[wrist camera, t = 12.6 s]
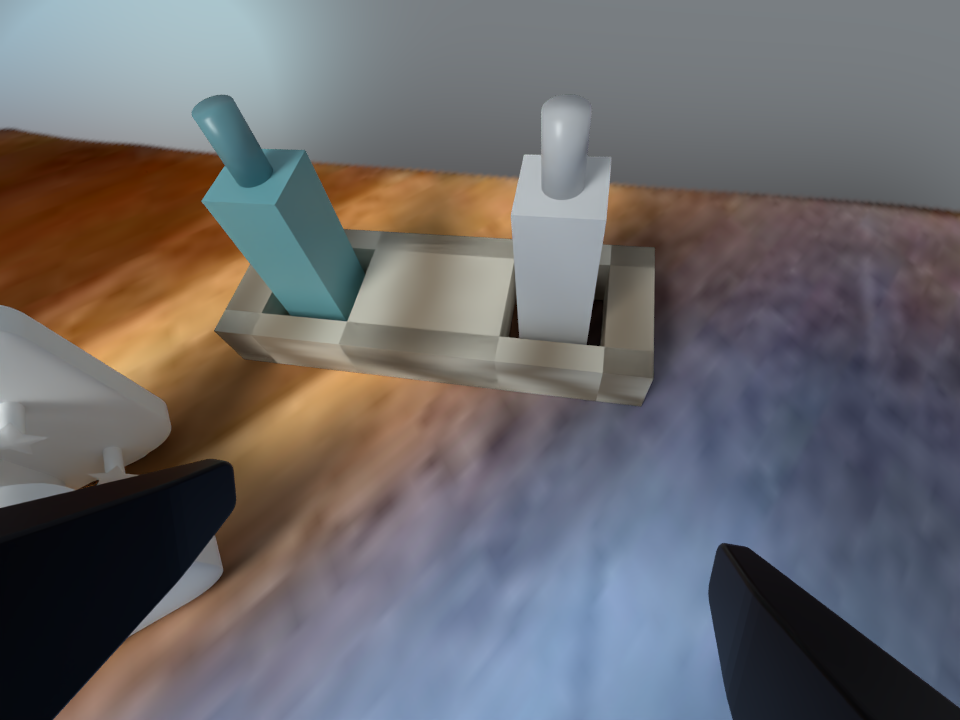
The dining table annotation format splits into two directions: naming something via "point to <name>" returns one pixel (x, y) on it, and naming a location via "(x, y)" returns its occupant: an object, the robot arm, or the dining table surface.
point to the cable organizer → (78, 431)
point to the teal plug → (279, 217)
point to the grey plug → (559, 226)
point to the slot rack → (457, 321)
